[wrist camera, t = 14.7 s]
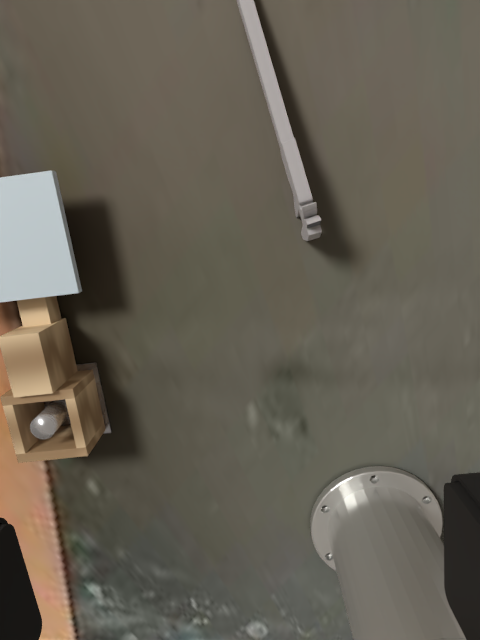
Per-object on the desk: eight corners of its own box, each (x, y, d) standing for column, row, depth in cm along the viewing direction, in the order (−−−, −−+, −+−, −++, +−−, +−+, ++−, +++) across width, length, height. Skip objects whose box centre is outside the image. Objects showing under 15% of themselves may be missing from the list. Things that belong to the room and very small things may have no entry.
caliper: (314, 234, 35) (328, 239, 29) (301, 238, 35) (312, 244, 29) (240, -39, 31) (238, -101, 25) (225, -33, 31) (220, -93, 25)
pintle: (111, 431, 40) (92, 462, 35) (40, 438, 40) (11, 470, 36) (96, 362, 38) (74, 384, 33) (21, 370, 39) (-11, 393, 34)
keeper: (96, 284, 36) (78, 293, 33) (-26, 299, 37) (-58, 309, 33) (73, 175, 34) (51, 170, 30) (-57, 192, 35) (-95, 190, 31)
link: (105, 429, 40) (85, 459, 35) (43, 436, 40) (15, 466, 35) (64, 235, 35) (34, 237, 31) (-5, 243, 36) (-45, 248, 31)
